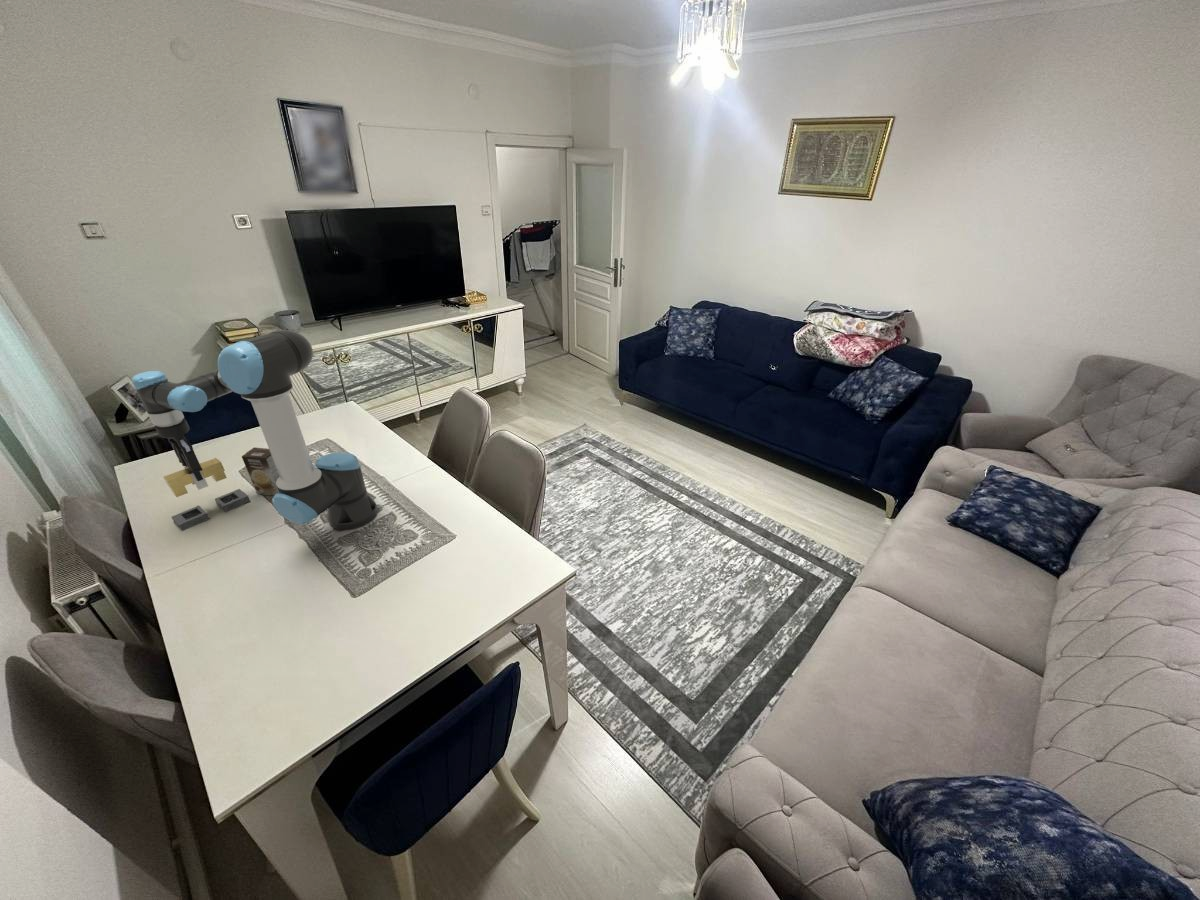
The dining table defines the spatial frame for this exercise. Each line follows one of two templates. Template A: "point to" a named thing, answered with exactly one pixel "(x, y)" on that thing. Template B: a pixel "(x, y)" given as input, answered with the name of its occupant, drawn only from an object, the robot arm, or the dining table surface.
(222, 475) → the tall gold block
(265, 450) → the coffee box
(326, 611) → the dining table surface
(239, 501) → the silver square rings
